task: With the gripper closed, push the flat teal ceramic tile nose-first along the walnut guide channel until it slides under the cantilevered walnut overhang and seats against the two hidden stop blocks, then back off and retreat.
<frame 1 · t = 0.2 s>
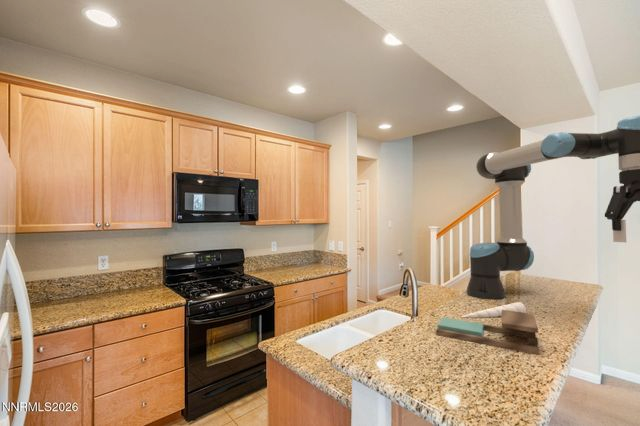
hand: (639, 241, 85), 28 cm above the counter, fingers open, 13 cm apart
tile: (460, 333, 90), resting in overhang
overhang: (502, 339, 84), on the counter
unicorn horn: (494, 317, 103), on the counter
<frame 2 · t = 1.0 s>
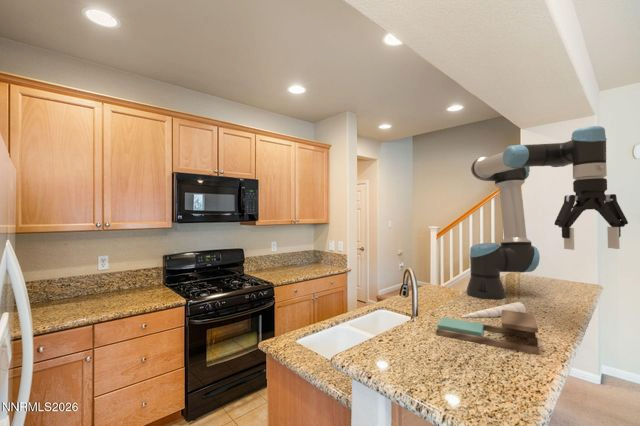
hand: (591, 248, 87), 26 cm above the counter, fingers open, 13 cm apart
nothing on the counter moved.
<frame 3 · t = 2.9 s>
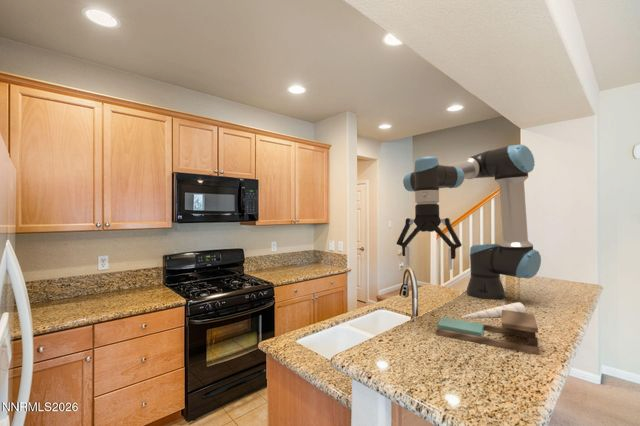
hand: (428, 267, 96), 19 cm above the counter, fingers open, 13 cm apart
nothing on the counter moved.
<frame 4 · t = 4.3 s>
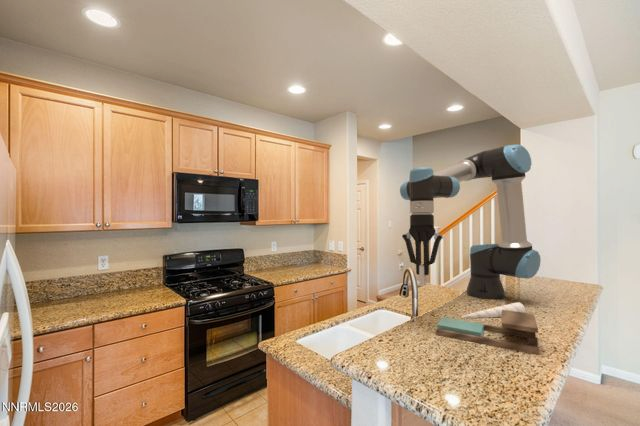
hand: (422, 284, 96), 14 cm above the counter, fingers closed
nothing on the counter moved.
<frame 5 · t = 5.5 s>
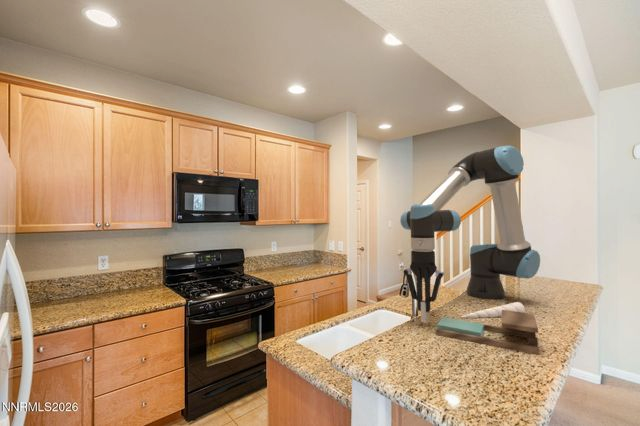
hand: (424, 320, 96), 1 cm above the counter, fingers closed
nothing on the counter moved.
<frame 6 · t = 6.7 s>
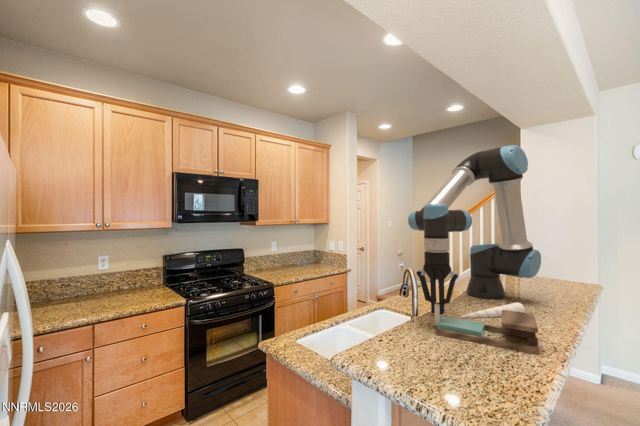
hand: (438, 323, 94), 1 cm above the counter, fingers closed
tile: (461, 332, 90), resting in overhang, touching gripper
everything else where it was.
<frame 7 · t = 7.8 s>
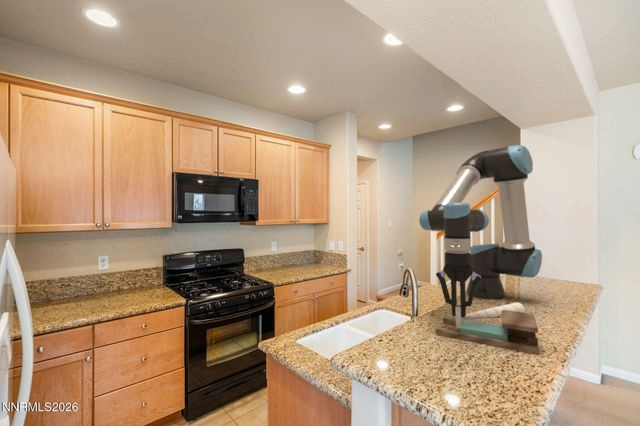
hand: (459, 326, 90), 1 cm above the counter, fingers closed
tile: (483, 336, 87), resting in overhang, touching gripper
everything else where it was.
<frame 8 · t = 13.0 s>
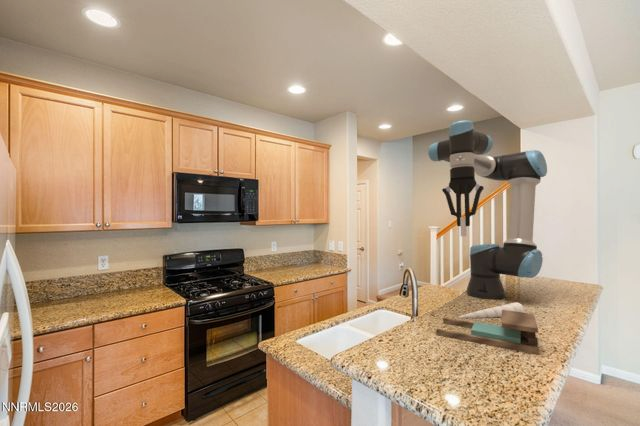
hand: (463, 236, 98), 29 cm above the counter, fingers closed
tile: (496, 339, 85), resting in overhang
at the end: tile 1.6 cm off-centre on the overhang, point -0.5 cm above the overhang's base; tile tilted 0° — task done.
